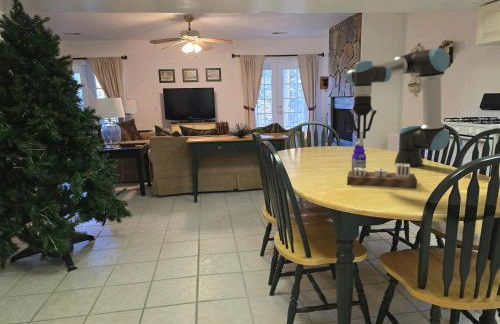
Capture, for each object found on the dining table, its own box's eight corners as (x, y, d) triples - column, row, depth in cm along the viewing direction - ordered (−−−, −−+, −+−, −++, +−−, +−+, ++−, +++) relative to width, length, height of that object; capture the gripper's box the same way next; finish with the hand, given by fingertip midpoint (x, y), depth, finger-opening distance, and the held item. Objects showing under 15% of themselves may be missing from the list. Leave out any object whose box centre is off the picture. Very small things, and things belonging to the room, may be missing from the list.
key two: (353, 181, 160) (354, 169, 159) (354, 179, 165) (354, 166, 164) (365, 182, 158) (365, 169, 157) (365, 179, 163) (366, 167, 162)
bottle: (355, 176, 174) (356, 143, 170) (349, 174, 179) (350, 142, 176) (367, 175, 176) (368, 142, 172) (361, 172, 181) (362, 141, 178)
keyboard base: (347, 184, 158) (347, 176, 157) (348, 178, 170) (349, 170, 169) (416, 188, 148) (417, 180, 147) (413, 181, 160) (413, 173, 159)
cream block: (374, 183, 157) (375, 170, 156) (374, 180, 162) (374, 167, 161) (386, 183, 155) (387, 170, 154) (386, 180, 160) (386, 168, 159)
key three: (396, 178, 153) (397, 165, 152) (395, 175, 158) (396, 162, 157) (409, 179, 151) (410, 165, 150) (408, 176, 156) (408, 163, 155)
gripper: (347, 96, 153) (346, 146, 157) (377, 95, 148) (375, 147, 153) (348, 96, 160) (347, 144, 164) (377, 95, 155) (375, 144, 160)
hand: (361, 145), depth 158 cm, fingers closed
